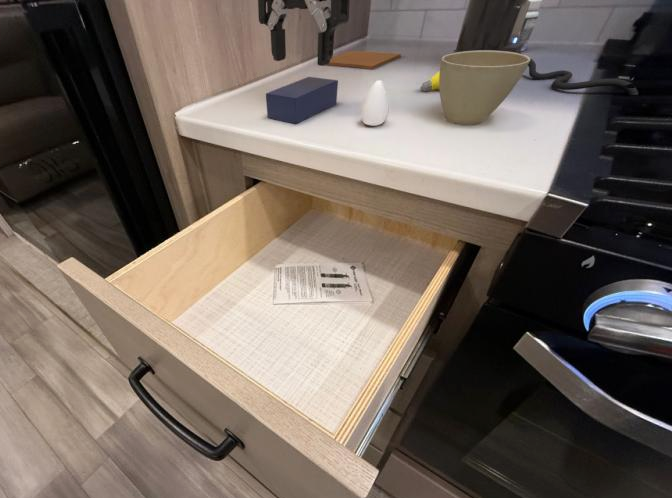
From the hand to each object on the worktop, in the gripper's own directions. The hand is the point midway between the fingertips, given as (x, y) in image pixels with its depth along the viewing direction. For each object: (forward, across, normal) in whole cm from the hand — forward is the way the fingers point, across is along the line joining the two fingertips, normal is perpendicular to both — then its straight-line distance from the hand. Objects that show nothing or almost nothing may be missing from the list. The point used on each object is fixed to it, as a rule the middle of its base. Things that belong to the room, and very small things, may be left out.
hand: (300, 62), depth 49 cm
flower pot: (+7, -23, -8) cm, 26 cm away
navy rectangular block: (+7, 0, 0) cm, 7 cm away
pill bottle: (+6, -16, -56) cm, 59 cm away
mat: (+6, +11, -36) cm, 38 cm away
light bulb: (+7, -14, -20) cm, 26 cm away
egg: (+7, -13, 0) cm, 15 cm away
